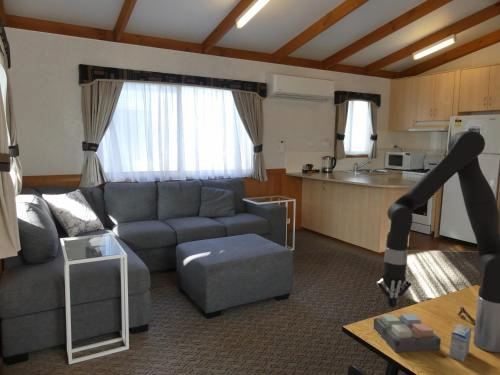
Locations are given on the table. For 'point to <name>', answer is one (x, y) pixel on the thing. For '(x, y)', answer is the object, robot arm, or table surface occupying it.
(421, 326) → the terracotta key
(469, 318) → the wooden post with brackets
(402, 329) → the cream key
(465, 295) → the table surface
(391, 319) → the sage key
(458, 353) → the medicine box
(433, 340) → the keypad
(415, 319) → the blue key
